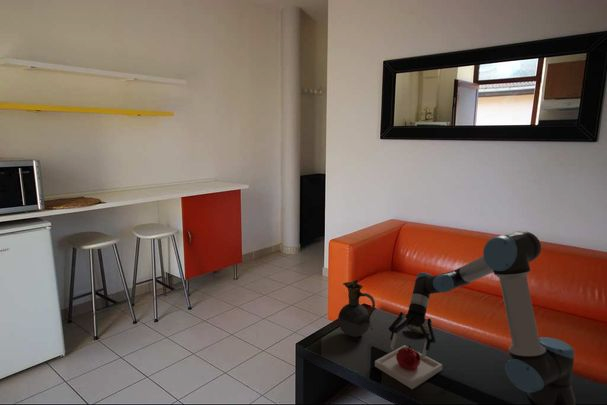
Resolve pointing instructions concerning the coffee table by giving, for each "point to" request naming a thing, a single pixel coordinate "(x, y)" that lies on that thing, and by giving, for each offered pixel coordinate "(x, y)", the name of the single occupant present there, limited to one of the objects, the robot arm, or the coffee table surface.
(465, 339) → the coffee table surface
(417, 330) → the fossilized seashell
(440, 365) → the tray
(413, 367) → the pomegranate
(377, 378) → the coffee table surface
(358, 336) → the pitcher
